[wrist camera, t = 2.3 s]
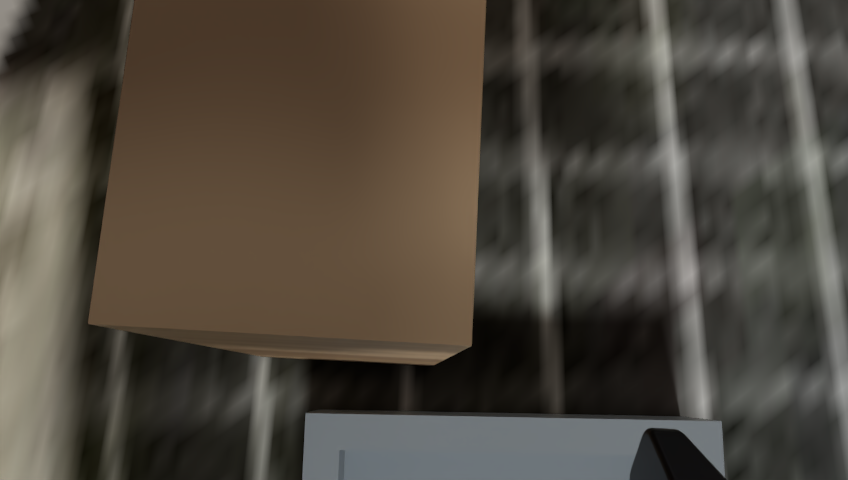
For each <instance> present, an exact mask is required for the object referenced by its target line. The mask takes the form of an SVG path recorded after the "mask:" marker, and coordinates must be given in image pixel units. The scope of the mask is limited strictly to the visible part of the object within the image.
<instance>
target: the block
mask: <svg viewBox="0 0 848 480" xmlns="http://www.w3.org/2000/svg"><path fill="white" fill-rule="evenodd" d="M485 19H486V0H134V7H133V14H132V21H131V28H130V35H129V41H128V48H127V55H126V62H125V69H124V76H123V83H122V90H121V97H120V104H119V111H118V118H117V125H116V132H115V139H114V145H113V152H112V159H111V166H110V173H109V180H108V187H107V194H106V201H105V208H104V215H103V222H102V229H101V236H100V243H99V250H98V256H97V263H96V270H95V277H94V284H93V291H92V298H91V305H90V312H89V319H88V324H91V325H96V326H101V327H107V328H112V329H117V330H123V331H128V332H133V333H139V334H144V335H149V336H155V337H160V338H166V339H171V340H176V341H182V342H187V343H192V344H198V345H203V346H208V347H214V348H219V349H224V350H230V351H235V352H240V353H246V354H251V355H256V356H262V357H278V358H295V359H313V360H330V361H348V362H366V363H383V364H401V365H419V366H433V365H435V364H437V363H439V362H441V361H443V360H445V359H447V358H449V357H451V356H453V355H455V354H457V353H459V352H461V351H463V350H465V349H467V348H469V347H471V346H472V328H473V304H474V280H475V256H476V233H477V209H478V185H479V161H480V137H481V114H482V90H483V66H484V42H485Z"/></svg>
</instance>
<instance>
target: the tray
mask: <svg viewBox="0 0 848 480" xmlns="http://www.w3.org/2000/svg"><path fill="white" fill-rule="evenodd" d="M648 428H667V429H677V430H679V431H681V432H682V433H684V434H685V435H686V436H687V437H688V438H689V439H690V441H691V442H692V443H693V444H694V445H695V446H696V447H697V448H698V449H699V450H700V451H701V452H702V454H703V455H704V456H705V457H706V458H707V459H708V460H709V461H710V462H711V463H712V464H713V465H714V467H715V468H716V469H717V470H718V471H719V472H720V473H721V474H722V475H723V476H724V477H725V472H724V454H723V437H722V421H716V420H707V419H699V418H690V417H682V416H636V415H585V414H534V413H482V412H431V411H380V410H328V409H317V410H314V411H311V412H308V413H306V415H305V435H304V455H303V474H302V480H629V479H630V471H631V467H632V464H633V461H634V458H635V455H636V452H637V449H638V447H639V444H640V441H641V438H642V435H643V433H644V432H645V430H647V429H648Z"/></svg>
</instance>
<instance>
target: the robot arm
mask: <svg viewBox="0 0 848 480" xmlns="http://www.w3.org/2000/svg"><path fill="white" fill-rule="evenodd" d="M629 480H726V478H725V477H724V476H723V475H722V474H721V473H720V472H719V471H718V470H717V469H716V468H715V467H714V465H713V464H712V463H711V462H710V461H709V460H708V459H707V458H706V457H705V456H704V455H703V454H702V452H701V451H700V450H699V449H698V448H697V447H696V446H695V445H694V444H693V443H692V442H691V441H690V439H689V438H688V437H687V436H686V435H685V434H684V433H682V432H681V431H679V430H677V429H667V428H648V429H647V430H645V432H644V433H643V435H642V438H641V441H640V444H639V447H638V449H637V452H636V455H635V458H634V461H633V464H632V467H631V471H630V479H629Z"/></svg>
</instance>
